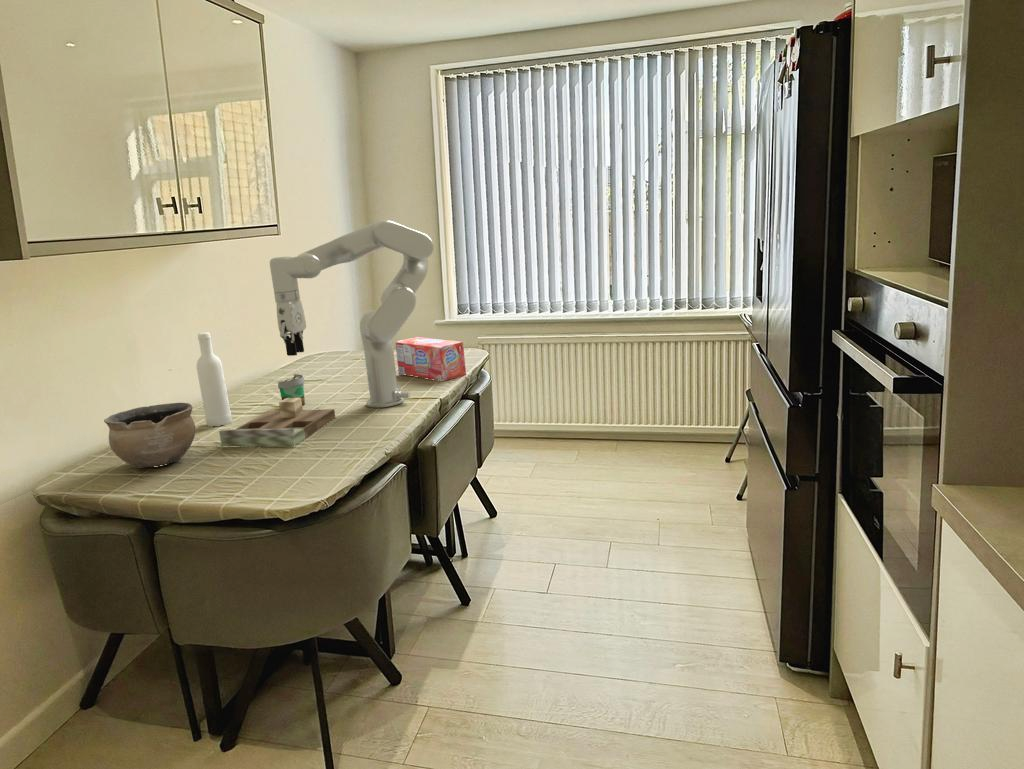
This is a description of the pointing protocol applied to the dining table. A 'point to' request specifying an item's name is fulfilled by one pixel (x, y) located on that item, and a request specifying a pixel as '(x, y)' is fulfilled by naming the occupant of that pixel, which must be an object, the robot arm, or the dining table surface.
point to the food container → (293, 388)
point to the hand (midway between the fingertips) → (295, 353)
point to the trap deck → (277, 429)
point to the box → (431, 358)
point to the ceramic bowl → (152, 434)
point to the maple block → (290, 407)
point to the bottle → (212, 384)
